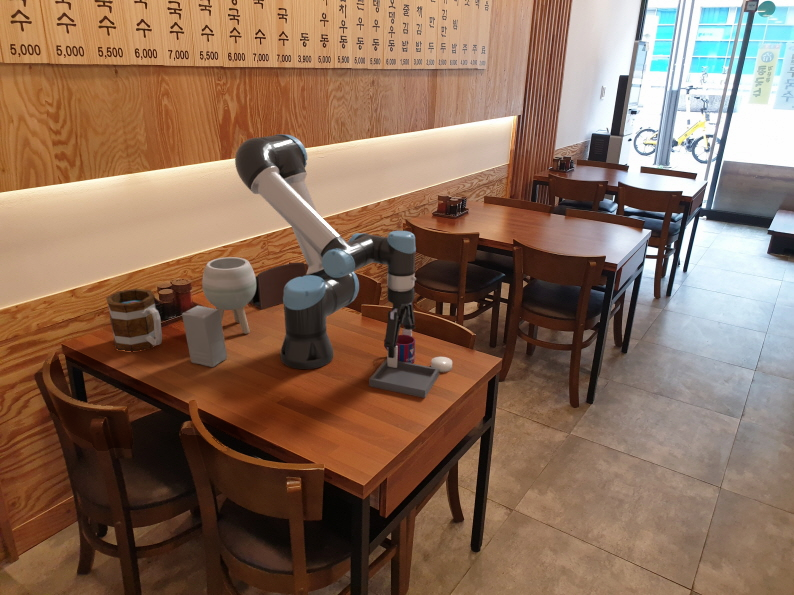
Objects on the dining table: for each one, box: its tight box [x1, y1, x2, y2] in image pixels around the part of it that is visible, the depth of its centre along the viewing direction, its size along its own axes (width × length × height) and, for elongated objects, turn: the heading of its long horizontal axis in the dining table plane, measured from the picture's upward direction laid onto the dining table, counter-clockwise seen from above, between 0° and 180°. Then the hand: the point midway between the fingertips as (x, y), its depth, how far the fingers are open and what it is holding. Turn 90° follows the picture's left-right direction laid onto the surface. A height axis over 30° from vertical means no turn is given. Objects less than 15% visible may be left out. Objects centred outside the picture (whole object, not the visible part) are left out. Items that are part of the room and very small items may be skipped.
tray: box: [368, 358, 440, 399], centre depth 158 cm, size 16×13×2 cm
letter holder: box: [248, 262, 307, 311], centre depth 209 cm, size 10×20×14 cm, turn 134°
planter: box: [201, 256, 256, 335], centre depth 183 cm, size 16×16×22 cm
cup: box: [383, 334, 416, 364], centre depth 169 cm, size 7×10×7 cm
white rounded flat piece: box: [430, 356, 453, 373], centre depth 166 cm, size 6×6×2 cm
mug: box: [105, 288, 163, 353], centre depth 172 cm, size 20×14×15 cm
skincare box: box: [181, 305, 228, 368], centre depth 163 cm, size 8×7×16 cm
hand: (399, 357), depth 169 cm, fingers open, 11 cm apart
